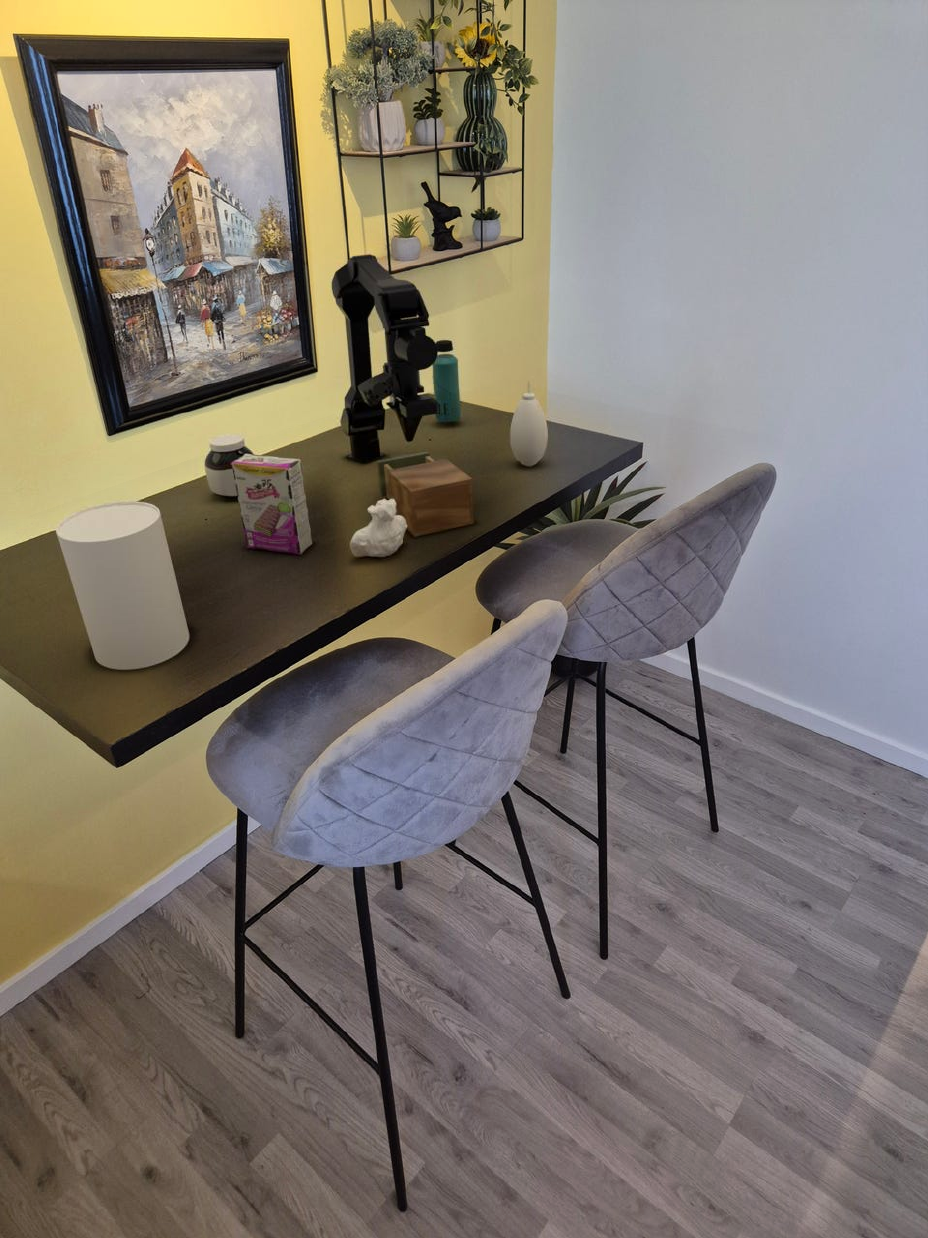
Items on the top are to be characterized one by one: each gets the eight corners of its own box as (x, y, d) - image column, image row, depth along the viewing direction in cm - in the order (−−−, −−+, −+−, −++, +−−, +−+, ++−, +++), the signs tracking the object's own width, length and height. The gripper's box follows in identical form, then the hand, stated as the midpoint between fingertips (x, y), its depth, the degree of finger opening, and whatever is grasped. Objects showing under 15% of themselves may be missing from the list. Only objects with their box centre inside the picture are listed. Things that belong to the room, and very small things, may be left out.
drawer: (378, 493, 173) (374, 458, 170) (427, 483, 177) (425, 449, 173) (399, 514, 164) (396, 478, 160) (450, 503, 167) (449, 467, 164)
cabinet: (391, 514, 166) (387, 470, 162) (448, 501, 170) (446, 458, 166) (414, 537, 157) (410, 491, 152) (473, 523, 161) (472, 478, 156)
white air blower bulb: (553, 461, 187) (554, 378, 178) (536, 473, 181) (536, 388, 172) (522, 456, 191) (521, 374, 181) (504, 467, 185) (502, 383, 176)
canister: (131, 616, 136) (98, 498, 126) (206, 626, 132) (179, 505, 122) (74, 663, 125) (33, 537, 115) (155, 675, 121) (120, 546, 111)
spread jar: (223, 506, 173) (212, 450, 167) (197, 491, 181) (186, 437, 175) (275, 489, 180) (266, 435, 174) (248, 475, 187) (239, 423, 181)
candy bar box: (245, 549, 155) (229, 462, 147) (260, 537, 159) (244, 452, 151) (301, 556, 152) (287, 467, 144) (314, 544, 156) (301, 457, 148)
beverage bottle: (462, 419, 215) (459, 337, 205) (460, 428, 209) (456, 343, 199) (436, 419, 216) (432, 337, 205) (433, 428, 210) (428, 344, 200)
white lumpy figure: (358, 576, 149) (378, 540, 140) (333, 542, 151) (352, 504, 142) (409, 552, 156) (432, 517, 147) (386, 520, 158) (407, 483, 149)
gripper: (345, 353, 162) (354, 434, 170) (376, 375, 147) (384, 463, 154) (401, 345, 165) (407, 425, 173) (437, 366, 150) (442, 452, 158)
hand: (409, 441), depth 165 cm, fingers closed
